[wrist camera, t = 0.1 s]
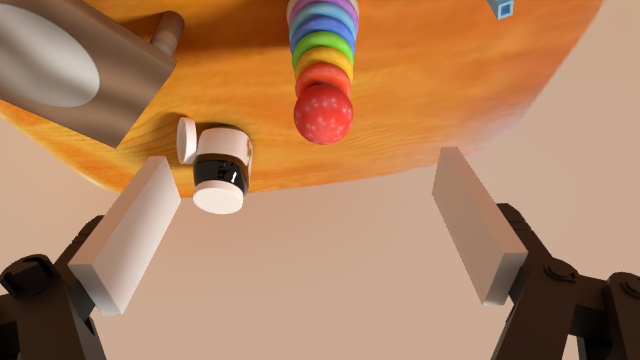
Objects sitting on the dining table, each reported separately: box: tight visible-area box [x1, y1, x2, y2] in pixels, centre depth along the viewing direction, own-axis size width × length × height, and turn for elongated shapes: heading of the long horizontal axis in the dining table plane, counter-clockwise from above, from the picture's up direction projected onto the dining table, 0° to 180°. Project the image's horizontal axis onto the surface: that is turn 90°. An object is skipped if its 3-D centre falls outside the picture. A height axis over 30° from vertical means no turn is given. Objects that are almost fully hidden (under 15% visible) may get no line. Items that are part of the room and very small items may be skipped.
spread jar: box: [177, 117, 252, 214], centre depth 51 cm, size 12×11×12 cm
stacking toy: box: [286, 0, 359, 145], centre depth 33 cm, size 8×8×19 cm
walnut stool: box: [0, 0, 185, 149], centre depth 35 cm, size 16×20×9 cm
